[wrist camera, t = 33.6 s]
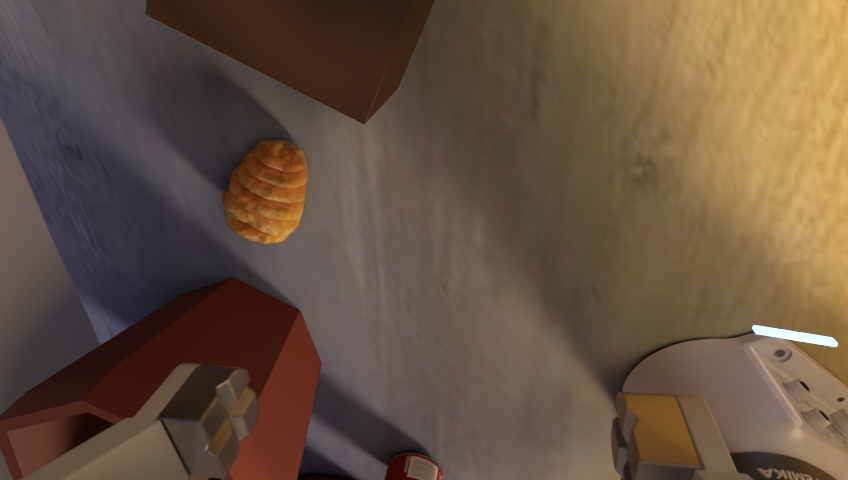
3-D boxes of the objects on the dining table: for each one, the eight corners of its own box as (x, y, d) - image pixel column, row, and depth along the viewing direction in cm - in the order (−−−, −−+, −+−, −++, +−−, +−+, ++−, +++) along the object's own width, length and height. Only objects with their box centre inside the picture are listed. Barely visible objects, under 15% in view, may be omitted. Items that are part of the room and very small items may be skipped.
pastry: (255, 117, 39) (232, 132, 36) (329, 157, 40) (313, 174, 37) (228, 205, 44) (206, 225, 41) (294, 238, 45) (278, 261, 42)
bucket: (288, 230, 44) (79, 479, 23) (391, 393, 53) (309, 681, 32) (111, 293, 53) (-163, 520, 31) (226, 425, 62) (73, 671, 40)
